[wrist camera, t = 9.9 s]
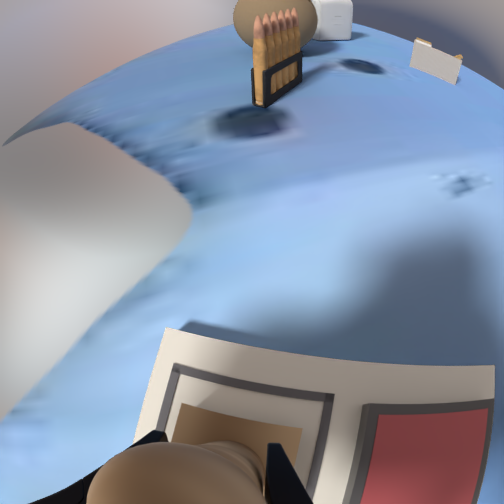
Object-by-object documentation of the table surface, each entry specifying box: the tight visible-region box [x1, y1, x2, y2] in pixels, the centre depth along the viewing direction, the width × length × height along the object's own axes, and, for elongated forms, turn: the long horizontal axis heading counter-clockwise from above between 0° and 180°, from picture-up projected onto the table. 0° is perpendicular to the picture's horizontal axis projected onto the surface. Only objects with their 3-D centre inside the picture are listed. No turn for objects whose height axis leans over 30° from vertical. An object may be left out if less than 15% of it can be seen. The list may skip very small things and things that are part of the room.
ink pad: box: [342, 398, 494, 504], centre depth 10 cm, size 9×8×1 cm
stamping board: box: [133, 327, 495, 504], centre depth 12 cm, size 22×13×2 cm, turn 78°
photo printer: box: [312, 0, 353, 41], centre depth 47 cm, size 10×4×12 cm, turn 114°
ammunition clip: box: [251, 7, 302, 108], centre depth 29 cm, size 11×2×12 cm, turn 147°
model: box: [410, 38, 463, 85], centre depth 40 cm, size 3×11×8 cm, turn 60°
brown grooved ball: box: [233, 0, 318, 48], centre depth 38 cm, size 15×15×15 cm
